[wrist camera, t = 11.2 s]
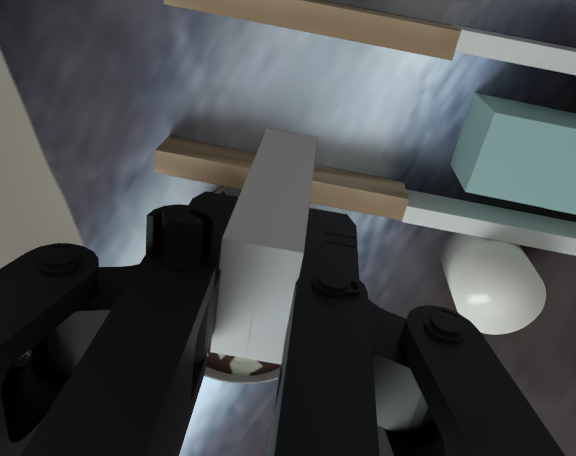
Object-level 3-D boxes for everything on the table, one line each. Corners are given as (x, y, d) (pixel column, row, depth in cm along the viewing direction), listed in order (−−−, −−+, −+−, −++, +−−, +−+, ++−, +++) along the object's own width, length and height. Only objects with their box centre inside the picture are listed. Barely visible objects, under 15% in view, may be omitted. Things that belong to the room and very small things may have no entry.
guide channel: (179, -28, 32) (165, -27, 29) (450, 25, 32) (461, 31, 30) (167, 157, 38) (154, 172, 35) (397, 202, 38) (402, 220, 35)
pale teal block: (474, 92, 34) (494, 112, 30) (549, 107, 34) (581, 129, 30) (449, 163, 36) (465, 191, 32) (520, 177, 36) (545, 207, 32)
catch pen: (451, 23, 32) (461, 29, 30) (708, 74, 32) (742, 84, 30) (397, 203, 38) (401, 221, 35) (615, 245, 38) (636, 267, 35)
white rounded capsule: (453, 214, 38) (472, 255, 33) (529, 228, 38) (560, 272, 33) (430, 277, 41) (445, 325, 35) (501, 291, 41) (526, 341, 35)
